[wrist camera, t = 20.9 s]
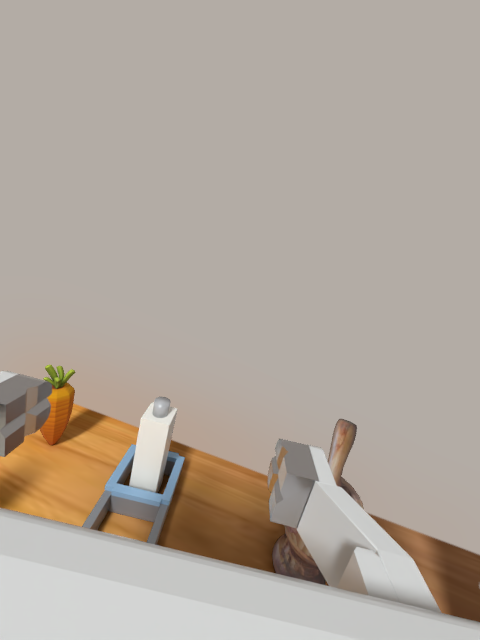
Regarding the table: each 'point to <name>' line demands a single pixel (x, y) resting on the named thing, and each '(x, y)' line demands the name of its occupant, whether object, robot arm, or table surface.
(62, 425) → the carrot
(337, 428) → the mortar and pestle
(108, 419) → the table surface
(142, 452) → the capped white pillar
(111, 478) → the ladder grid frame
